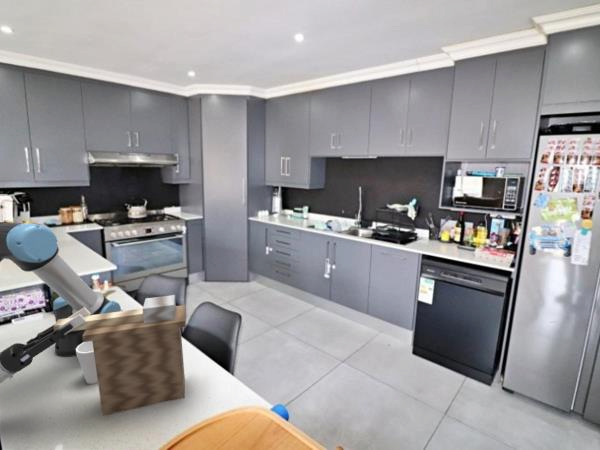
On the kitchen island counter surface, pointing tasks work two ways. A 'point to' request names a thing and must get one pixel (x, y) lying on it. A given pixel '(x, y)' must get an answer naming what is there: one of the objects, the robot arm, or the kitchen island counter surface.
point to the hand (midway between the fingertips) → (85, 314)
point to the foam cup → (87, 361)
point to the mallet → (130, 314)
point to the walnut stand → (139, 363)
